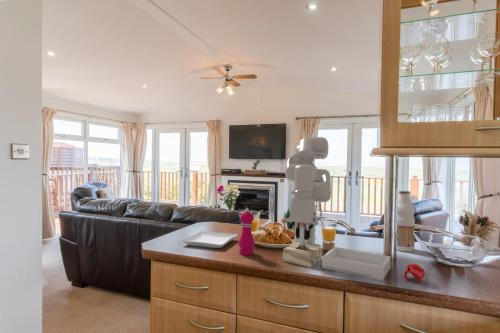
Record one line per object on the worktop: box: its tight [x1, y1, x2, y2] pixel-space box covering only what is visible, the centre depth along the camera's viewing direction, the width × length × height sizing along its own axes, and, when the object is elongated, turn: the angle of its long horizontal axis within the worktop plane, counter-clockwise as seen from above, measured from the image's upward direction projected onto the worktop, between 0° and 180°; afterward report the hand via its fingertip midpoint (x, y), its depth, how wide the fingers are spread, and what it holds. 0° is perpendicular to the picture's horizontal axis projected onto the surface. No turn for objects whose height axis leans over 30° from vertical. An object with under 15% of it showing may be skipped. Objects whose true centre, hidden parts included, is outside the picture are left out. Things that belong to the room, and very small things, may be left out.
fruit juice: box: [396, 190, 416, 253], centre depth 145 cm, size 9×9×28 cm
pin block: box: [282, 243, 322, 268], centre depth 126 cm, size 12×12×5 cm
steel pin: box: [298, 222, 307, 251], centre depth 126 cm, size 5×5×15 cm
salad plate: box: [181, 231, 238, 249], centre depth 151 cm, size 21×21×3 cm
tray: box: [321, 246, 392, 282], centre depth 118 cm, size 16×22×4 cm
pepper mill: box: [238, 208, 256, 256], centre depth 134 cm, size 7×7×20 cm
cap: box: [403, 263, 426, 284], centre depth 106 cm, size 8×6×6 cm
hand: (302, 238), depth 126 cm, fingers closed on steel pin, 3 cm apart
